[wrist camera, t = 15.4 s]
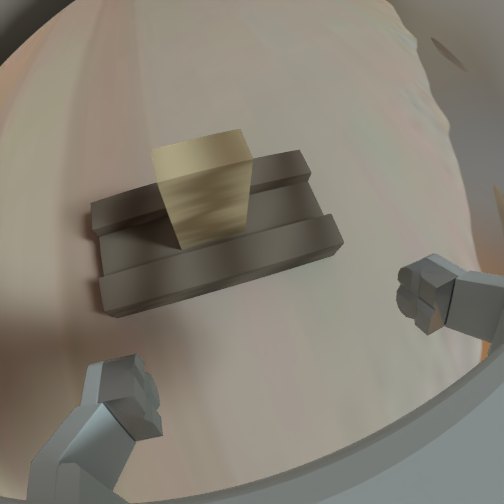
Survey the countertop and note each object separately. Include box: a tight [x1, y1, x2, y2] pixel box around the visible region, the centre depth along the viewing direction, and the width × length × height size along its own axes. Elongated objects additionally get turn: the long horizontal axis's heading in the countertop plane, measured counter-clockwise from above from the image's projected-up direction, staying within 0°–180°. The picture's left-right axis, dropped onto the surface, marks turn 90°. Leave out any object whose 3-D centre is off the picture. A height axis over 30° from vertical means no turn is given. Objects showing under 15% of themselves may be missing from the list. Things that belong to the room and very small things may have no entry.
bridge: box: [91, 150, 344, 318], centre depth 26 cm, size 20×10×3 cm, turn 108°
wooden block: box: [151, 129, 253, 250], centre depth 21 cm, size 6×2×10 cm, turn 108°
